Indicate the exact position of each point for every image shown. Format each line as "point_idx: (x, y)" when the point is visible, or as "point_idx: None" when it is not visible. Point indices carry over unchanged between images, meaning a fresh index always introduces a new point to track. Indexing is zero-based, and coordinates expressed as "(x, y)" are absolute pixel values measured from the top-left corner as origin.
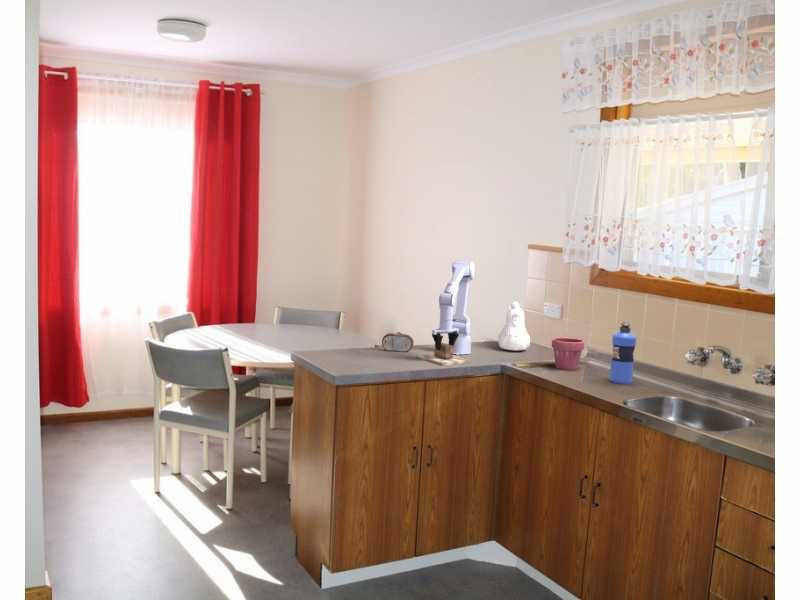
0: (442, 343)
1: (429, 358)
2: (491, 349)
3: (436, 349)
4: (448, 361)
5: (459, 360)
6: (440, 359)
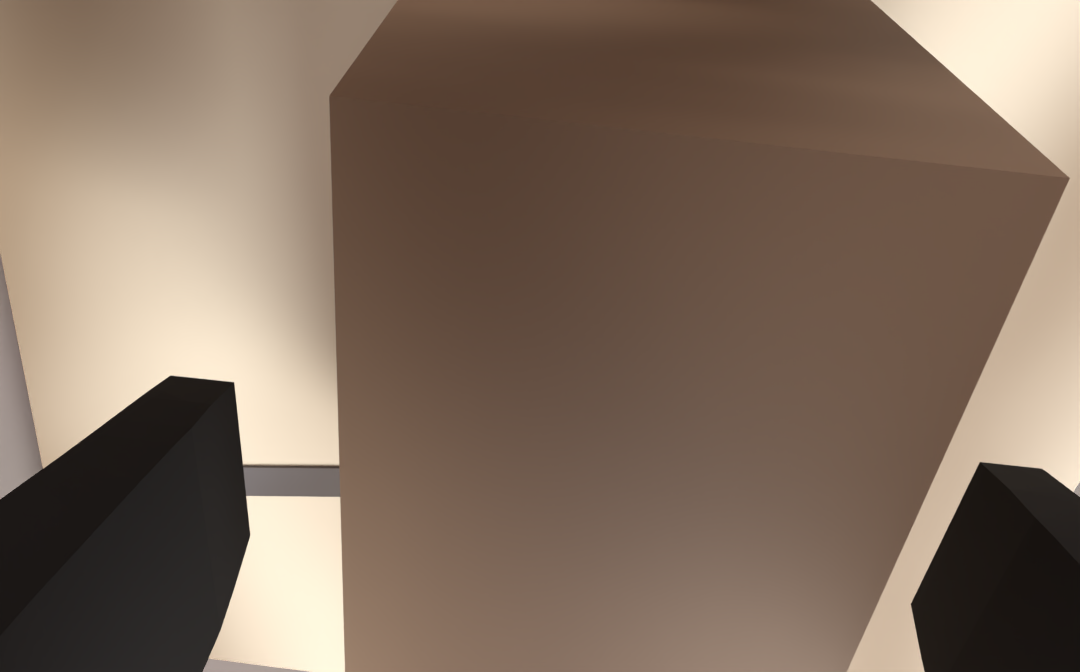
0: (880, 367)
1: (45, 89)
2: None
3: (159, 393)
4: (342, 607)
5: None
6: (311, 377)
